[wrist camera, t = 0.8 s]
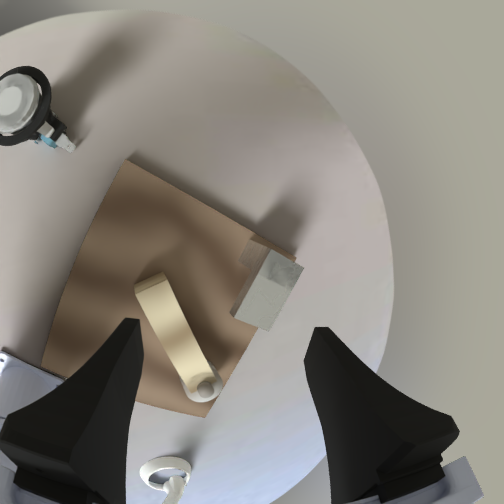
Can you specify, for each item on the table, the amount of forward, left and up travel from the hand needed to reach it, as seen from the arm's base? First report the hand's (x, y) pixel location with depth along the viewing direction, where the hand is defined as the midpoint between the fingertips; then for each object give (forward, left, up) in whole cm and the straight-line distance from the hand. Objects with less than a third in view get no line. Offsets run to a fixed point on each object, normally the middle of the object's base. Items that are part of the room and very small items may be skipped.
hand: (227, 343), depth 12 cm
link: (-7, -5, -16) cm, 19 cm away
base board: (-5, -3, -18) cm, 19 cm away
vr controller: (-29, -13, -18) cm, 37 cm away
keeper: (+2, -9, -17) cm, 19 cm away
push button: (+5, +15, -18) cm, 24 cm away
